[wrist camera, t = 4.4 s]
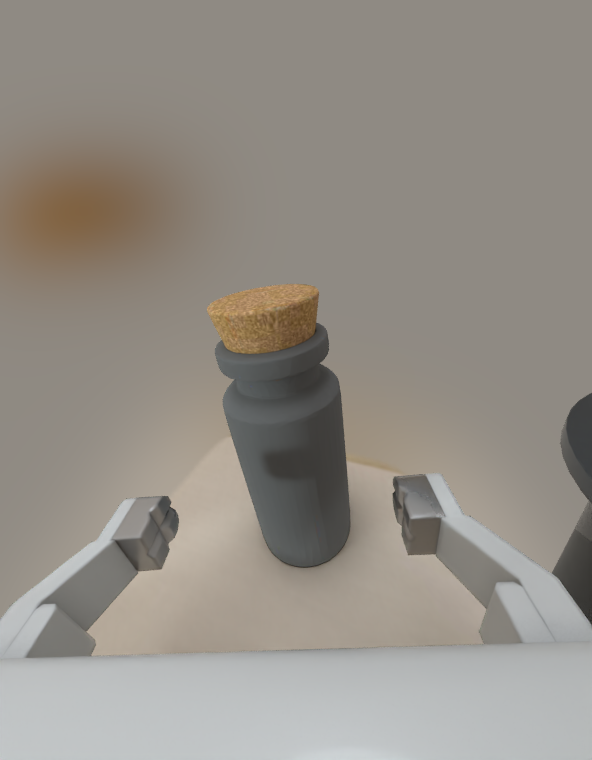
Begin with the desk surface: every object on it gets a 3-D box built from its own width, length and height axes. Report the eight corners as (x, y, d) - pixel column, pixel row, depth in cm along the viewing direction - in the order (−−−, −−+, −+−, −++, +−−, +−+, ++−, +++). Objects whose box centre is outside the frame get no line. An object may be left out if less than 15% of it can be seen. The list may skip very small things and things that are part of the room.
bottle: (254, 567, 17) (164, 325, 10) (271, 487, 22) (220, 289, 15) (354, 570, 16) (333, 306, 9) (348, 486, 21) (332, 274, 14)
